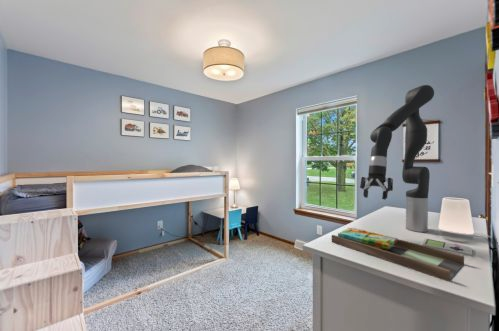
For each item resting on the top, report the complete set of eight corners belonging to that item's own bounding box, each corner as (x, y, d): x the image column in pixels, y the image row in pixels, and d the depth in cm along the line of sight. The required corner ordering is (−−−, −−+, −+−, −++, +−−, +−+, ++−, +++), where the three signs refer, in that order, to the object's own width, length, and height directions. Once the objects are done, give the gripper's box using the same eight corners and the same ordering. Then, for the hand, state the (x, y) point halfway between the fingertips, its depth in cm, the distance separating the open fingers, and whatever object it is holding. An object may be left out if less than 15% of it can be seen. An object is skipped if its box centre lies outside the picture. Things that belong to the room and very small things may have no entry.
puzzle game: (348, 226, 106) (397, 236, 91) (348, 235, 106) (397, 247, 92) (338, 231, 98) (389, 243, 83) (338, 241, 98) (389, 255, 83)
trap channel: (353, 233, 109) (353, 227, 109) (464, 264, 77) (464, 255, 76) (331, 242, 98) (331, 235, 98) (449, 281, 66) (449, 271, 66)
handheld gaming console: (471, 253, 83) (421, 243, 93) (471, 257, 83) (421, 246, 93) (471, 246, 90) (425, 237, 100) (471, 250, 90) (425, 240, 100)
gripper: (396, 167, 106) (394, 201, 103) (366, 167, 117) (363, 197, 115) (390, 164, 101) (387, 199, 99) (359, 164, 113) (356, 195, 111)
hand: (374, 198), depth 107 cm, fingers open, 8 cm apart
